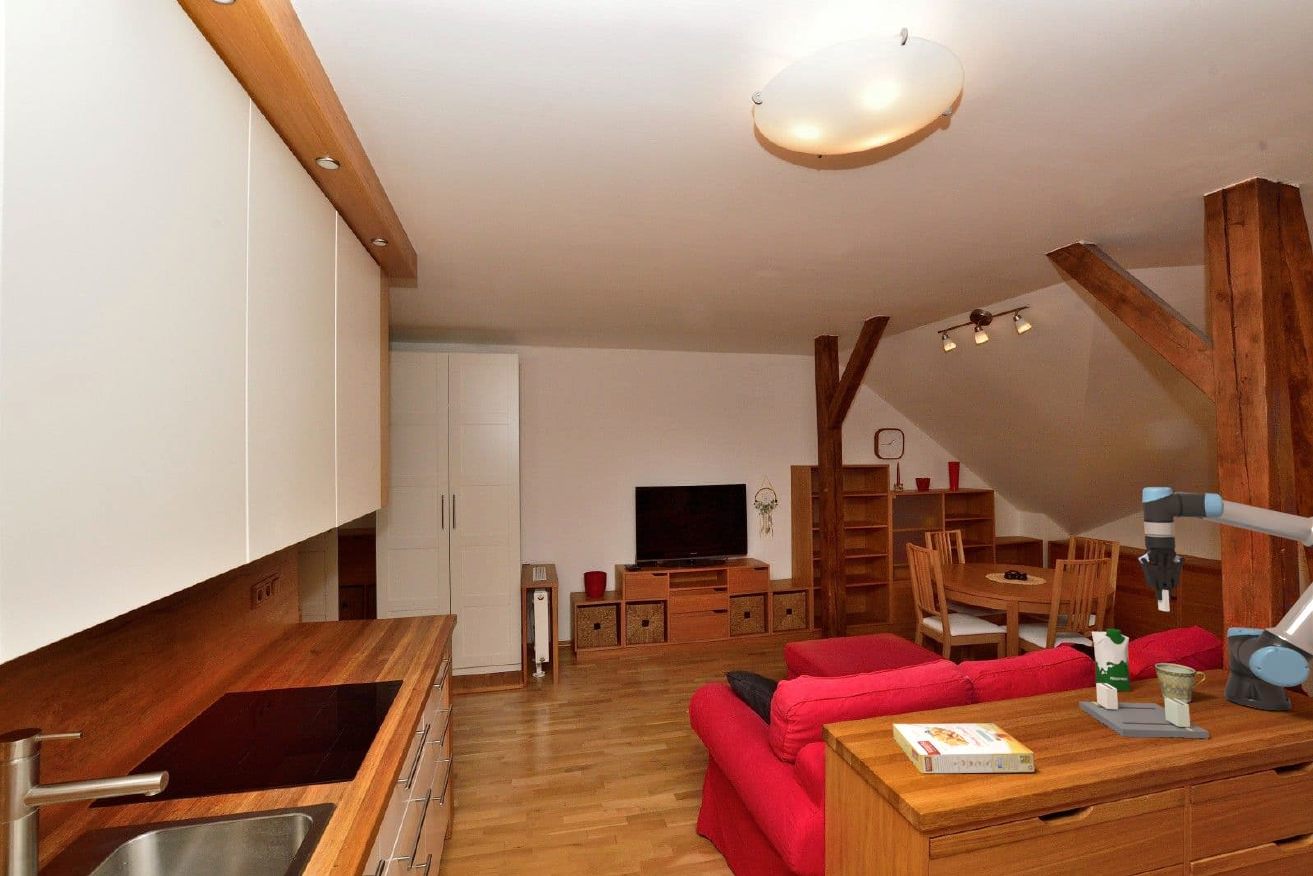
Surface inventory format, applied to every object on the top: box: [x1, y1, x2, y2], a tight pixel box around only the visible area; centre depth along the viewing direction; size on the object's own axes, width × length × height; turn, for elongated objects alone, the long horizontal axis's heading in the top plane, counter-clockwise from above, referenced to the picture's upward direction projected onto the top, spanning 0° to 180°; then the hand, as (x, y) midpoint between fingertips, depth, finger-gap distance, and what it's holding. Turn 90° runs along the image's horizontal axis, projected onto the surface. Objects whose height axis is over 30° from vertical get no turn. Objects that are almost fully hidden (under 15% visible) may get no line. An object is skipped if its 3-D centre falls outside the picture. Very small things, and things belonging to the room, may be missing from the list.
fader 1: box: [1095, 682, 1119, 709], centre depth 187 cm, size 3×5×6 cm, turn 174°
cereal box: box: [892, 722, 1036, 774], centre depth 161 cm, size 20×6×28 cm
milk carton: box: [1091, 628, 1131, 691], centre depth 210 cm, size 9×9×20 cm
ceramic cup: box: [1154, 662, 1206, 704], centre depth 198 cm, size 13×10×10 cm
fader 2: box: [1163, 697, 1191, 727], centre depth 174 cm, size 3×5×6 cm, turn 174°
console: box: [1078, 700, 1210, 739], centre depth 180 cm, size 22×21×2 cm
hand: (1164, 610), depth 195 cm, fingers closed
